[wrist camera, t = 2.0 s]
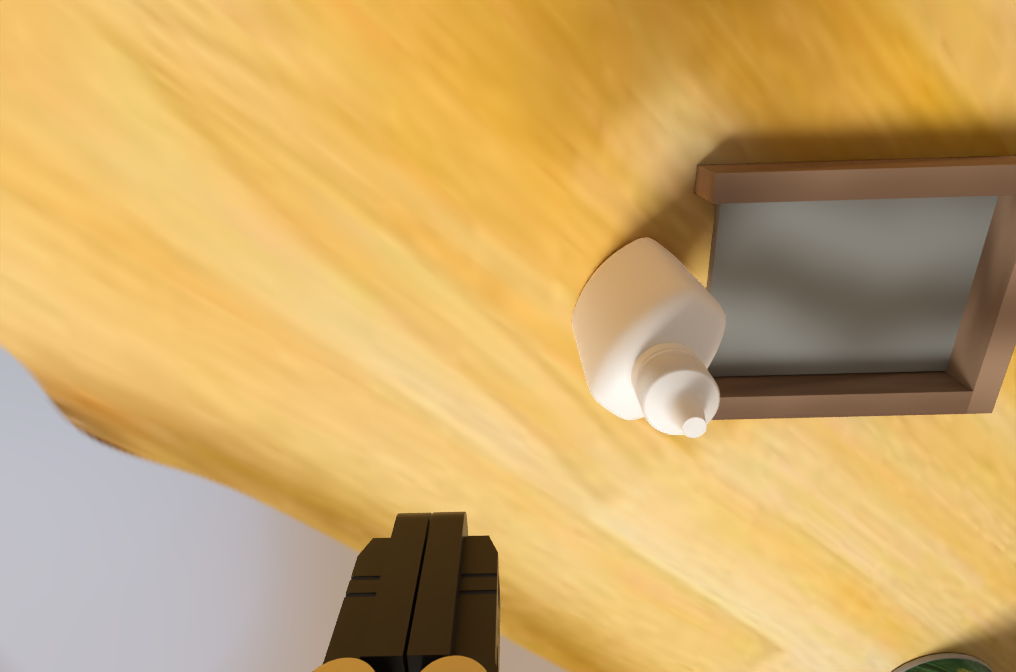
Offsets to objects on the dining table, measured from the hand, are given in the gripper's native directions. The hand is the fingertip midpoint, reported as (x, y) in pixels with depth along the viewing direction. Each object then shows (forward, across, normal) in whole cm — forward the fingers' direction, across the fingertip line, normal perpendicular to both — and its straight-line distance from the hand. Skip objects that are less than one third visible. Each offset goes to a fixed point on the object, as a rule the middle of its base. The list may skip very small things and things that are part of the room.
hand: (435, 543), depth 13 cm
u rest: (+16, -16, 0) cm, 23 cm away
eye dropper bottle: (+17, -7, 0) cm, 18 cm away
